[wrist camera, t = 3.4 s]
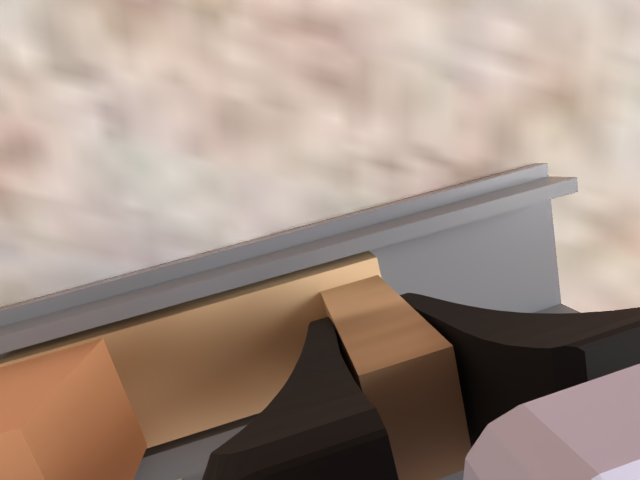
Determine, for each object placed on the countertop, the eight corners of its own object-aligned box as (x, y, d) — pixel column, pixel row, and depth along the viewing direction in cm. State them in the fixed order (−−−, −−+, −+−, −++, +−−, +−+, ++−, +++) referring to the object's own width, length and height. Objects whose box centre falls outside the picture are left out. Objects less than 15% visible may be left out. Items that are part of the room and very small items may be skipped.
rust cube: (147, 445, 12) (93, 575, 8) (22, 485, 12) (-96, 640, 8) (103, 338, 11) (19, 428, 7) (-35, 377, 11) (-199, 494, 7)
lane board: (563, 427, 17) (600, 458, 15) (80, 596, 15) (55, 656, 13) (535, 163, 14) (575, 162, 13) (-63, 324, 12) (-120, 352, 10)
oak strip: (389, 351, 14) (482, 487, 8) (65, 452, 13) (-104, 696, 7) (366, 249, 13) (453, 317, 7) (15, 348, 12) (-230, 527, 6)
